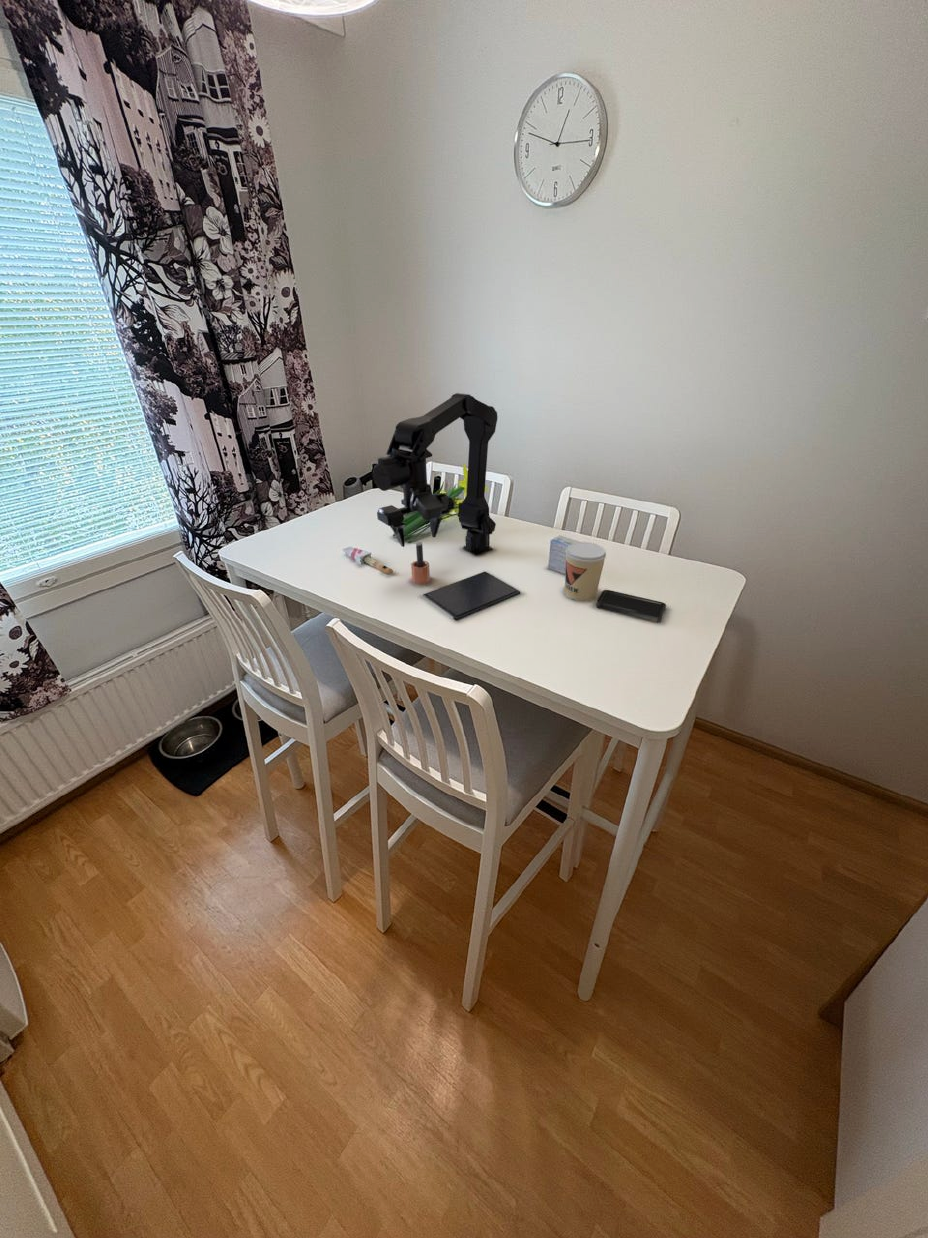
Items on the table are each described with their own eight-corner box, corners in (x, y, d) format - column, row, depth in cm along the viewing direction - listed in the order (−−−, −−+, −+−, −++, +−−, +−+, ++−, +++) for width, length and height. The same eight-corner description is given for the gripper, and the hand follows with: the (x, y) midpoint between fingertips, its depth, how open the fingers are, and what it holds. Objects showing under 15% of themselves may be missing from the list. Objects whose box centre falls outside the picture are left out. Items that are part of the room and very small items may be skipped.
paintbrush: (351, 541, 143) (395, 565, 131) (351, 549, 144) (395, 574, 133) (339, 545, 140) (383, 570, 129) (340, 554, 142) (384, 579, 131)
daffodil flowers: (381, 532, 158) (461, 482, 171) (409, 564, 156) (489, 511, 168) (381, 500, 143) (469, 448, 156) (412, 536, 140) (500, 480, 153)
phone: (604, 588, 122) (667, 603, 116) (603, 592, 122) (665, 607, 116) (595, 603, 116) (661, 619, 110) (594, 607, 117) (660, 623, 111)
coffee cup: (554, 588, 125) (558, 545, 118) (584, 581, 128) (591, 538, 121) (575, 606, 117) (581, 561, 111) (607, 597, 121) (614, 553, 114)
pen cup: (423, 575, 131) (422, 558, 128) (433, 582, 128) (432, 564, 125) (409, 580, 129) (407, 563, 126) (418, 587, 126) (417, 570, 123)
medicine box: (581, 572, 132) (585, 542, 127) (572, 578, 129) (575, 547, 125) (556, 563, 137) (559, 534, 132) (547, 568, 134) (550, 539, 129)
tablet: (485, 573, 132) (485, 570, 131) (520, 593, 123) (520, 590, 122) (423, 596, 122) (422, 593, 121) (456, 620, 112) (456, 617, 112)
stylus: (422, 577, 129) (420, 540, 123) (425, 579, 128) (423, 542, 122) (417, 579, 128) (414, 542, 123) (420, 581, 127) (418, 544, 122)
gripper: (398, 496, 104) (403, 563, 112) (467, 480, 113) (467, 542, 122) (372, 484, 111) (379, 547, 120) (440, 469, 121) (441, 528, 129)
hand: (418, 541), depth 122 cm, fingers open, 9 cm apart
